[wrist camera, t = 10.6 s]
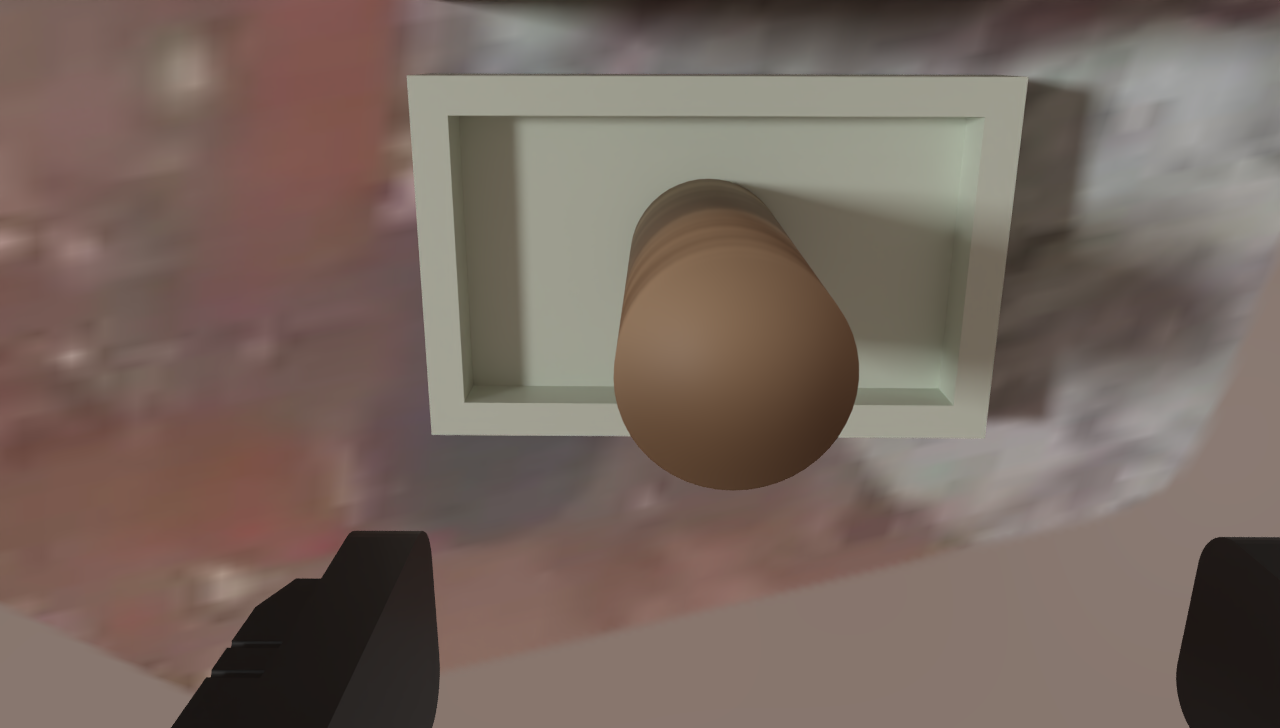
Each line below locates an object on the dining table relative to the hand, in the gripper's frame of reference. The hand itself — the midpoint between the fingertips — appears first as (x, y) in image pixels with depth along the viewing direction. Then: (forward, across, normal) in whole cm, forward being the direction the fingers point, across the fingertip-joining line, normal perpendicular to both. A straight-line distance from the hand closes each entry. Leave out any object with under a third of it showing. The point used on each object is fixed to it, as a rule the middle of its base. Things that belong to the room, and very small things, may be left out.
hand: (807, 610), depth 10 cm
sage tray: (+20, 0, 0) cm, 20 cm away
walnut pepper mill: (+19, 0, 0) cm, 19 cm away
